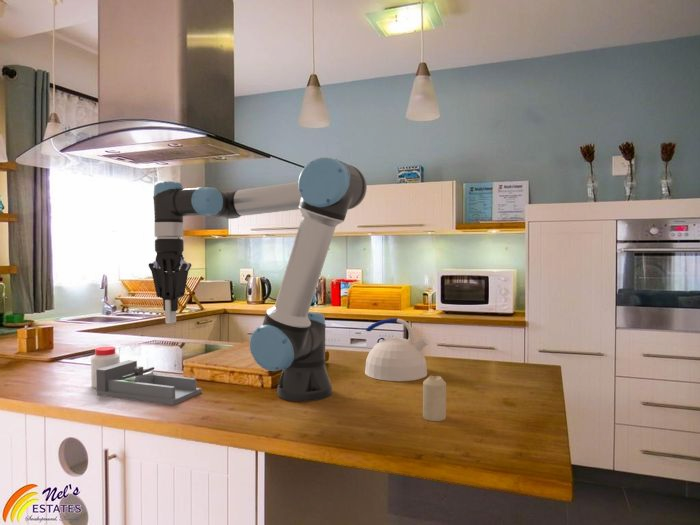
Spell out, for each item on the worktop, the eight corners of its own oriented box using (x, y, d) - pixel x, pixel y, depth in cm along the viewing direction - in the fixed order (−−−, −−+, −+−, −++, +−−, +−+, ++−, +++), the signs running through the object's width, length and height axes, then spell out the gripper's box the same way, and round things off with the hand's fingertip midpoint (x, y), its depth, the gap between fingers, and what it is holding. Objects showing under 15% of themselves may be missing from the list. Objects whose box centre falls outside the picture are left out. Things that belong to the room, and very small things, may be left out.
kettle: (421, 384, 154) (422, 324, 153) (356, 378, 160) (356, 321, 160) (433, 368, 173) (433, 315, 172) (374, 364, 180) (374, 312, 179)
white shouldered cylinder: (430, 422, 120) (431, 380, 120) (418, 415, 125) (418, 375, 125) (450, 419, 123) (450, 378, 122) (437, 412, 128) (437, 372, 127)
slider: (159, 383, 150) (158, 363, 150) (129, 394, 139) (128, 373, 139) (148, 382, 152) (147, 362, 151) (117, 392, 141) (117, 371, 141)
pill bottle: (108, 389, 149) (108, 351, 149) (85, 387, 151) (84, 350, 150) (125, 382, 157) (125, 346, 156) (103, 380, 158) (102, 345, 158)
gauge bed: (201, 392, 145) (201, 367, 145) (172, 405, 134) (172, 377, 134) (129, 383, 154) (128, 360, 154) (96, 394, 143) (96, 369, 143)
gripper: (197, 238, 144) (198, 321, 144) (159, 238, 148) (161, 319, 149) (179, 237, 137) (181, 325, 137) (140, 238, 141) (142, 323, 142)
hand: (170, 322), depth 143 cm, fingers closed
